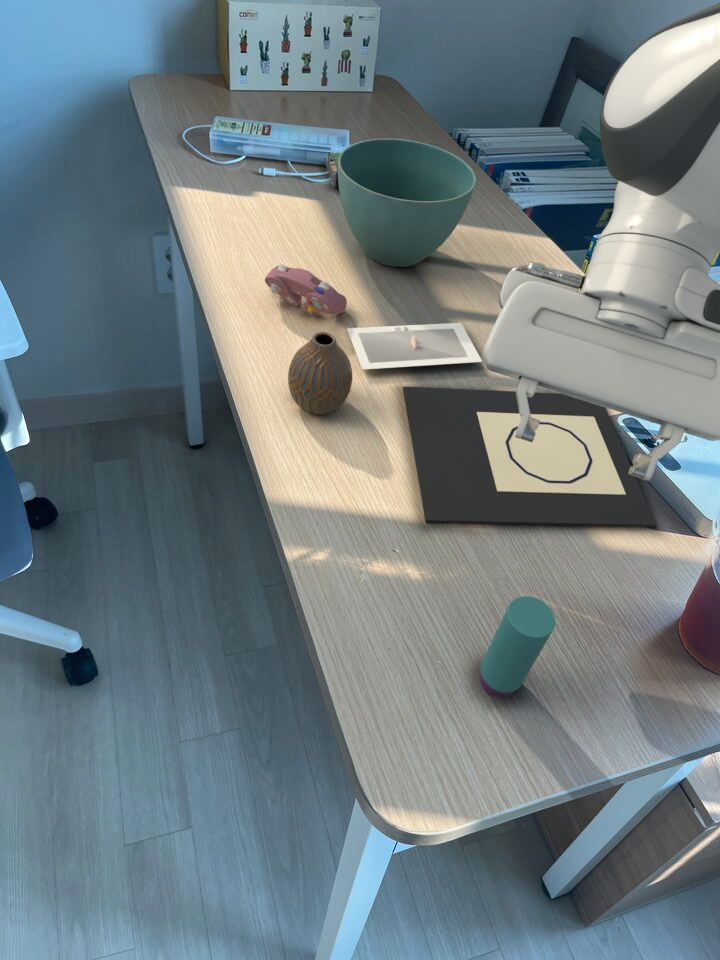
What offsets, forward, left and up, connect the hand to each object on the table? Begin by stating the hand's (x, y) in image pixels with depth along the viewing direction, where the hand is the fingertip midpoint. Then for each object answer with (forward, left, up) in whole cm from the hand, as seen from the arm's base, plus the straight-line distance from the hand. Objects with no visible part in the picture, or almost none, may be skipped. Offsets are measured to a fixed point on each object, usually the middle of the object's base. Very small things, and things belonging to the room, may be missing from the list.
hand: (580, 458), depth 60 cm
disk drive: (+8, -79, -16) cm, 81 cm away
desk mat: (-3, -16, -15) cm, 22 cm away
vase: (+19, -23, -16) cm, 33 cm away
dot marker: (+5, +11, -15) cm, 20 cm away
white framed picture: (+7, -33, -16) cm, 37 cm away
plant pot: (+7, -56, -16) cm, 58 cm away
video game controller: (+20, -41, -16) cm, 48 cm away
